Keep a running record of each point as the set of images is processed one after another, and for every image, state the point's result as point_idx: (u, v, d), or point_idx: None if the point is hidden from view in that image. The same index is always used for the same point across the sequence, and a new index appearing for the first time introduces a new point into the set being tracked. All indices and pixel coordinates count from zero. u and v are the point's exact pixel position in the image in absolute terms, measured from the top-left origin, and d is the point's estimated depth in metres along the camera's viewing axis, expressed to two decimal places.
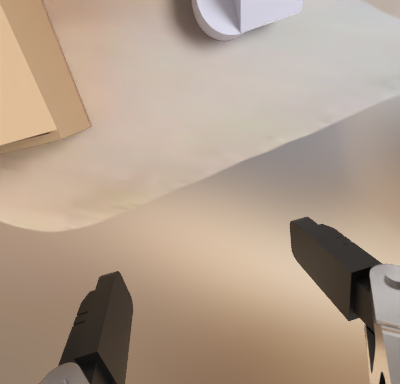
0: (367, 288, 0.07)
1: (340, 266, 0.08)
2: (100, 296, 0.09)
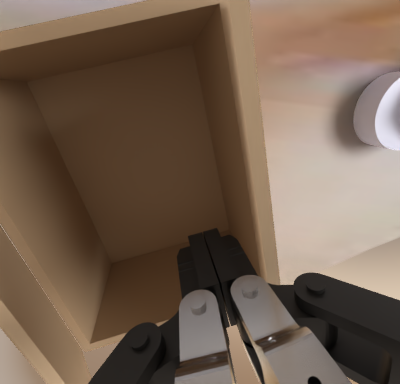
0: None
1: (218, 276, 0.09)
2: (197, 249, 0.10)
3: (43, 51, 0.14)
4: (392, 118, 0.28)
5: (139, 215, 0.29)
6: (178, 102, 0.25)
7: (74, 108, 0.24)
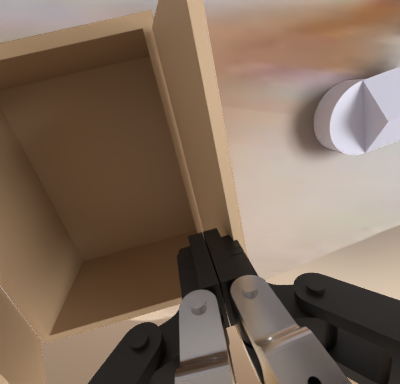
0: None
1: (218, 276, 0.09)
2: (197, 249, 0.10)
3: None
4: (347, 125, 0.29)
5: (107, 215, 0.31)
6: (139, 110, 0.27)
7: (39, 116, 0.26)
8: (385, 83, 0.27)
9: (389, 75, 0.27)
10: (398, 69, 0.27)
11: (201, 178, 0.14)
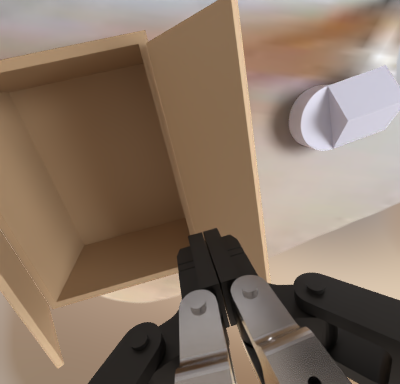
0: None
1: (218, 276, 0.09)
2: (197, 249, 0.10)
3: (14, 75, 0.20)
4: (316, 124, 0.33)
5: (106, 203, 0.35)
6: (135, 109, 0.31)
7: (48, 114, 0.29)
8: (346, 88, 0.31)
9: (350, 81, 0.32)
10: (357, 76, 0.32)
11: (207, 151, 0.18)
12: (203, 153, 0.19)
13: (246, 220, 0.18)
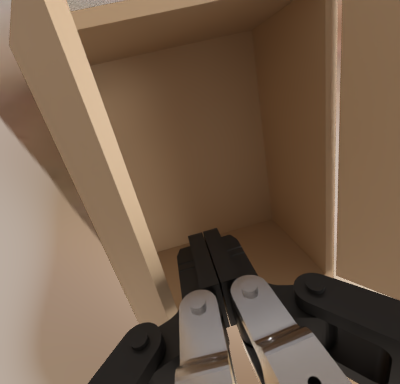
0: None
1: (218, 276, 0.09)
2: (197, 249, 0.10)
3: (142, 26, 0.14)
4: None
5: (187, 203, 0.29)
6: (233, 88, 0.26)
7: (132, 93, 0.24)
8: None
9: None
10: None
11: None
12: None
13: None
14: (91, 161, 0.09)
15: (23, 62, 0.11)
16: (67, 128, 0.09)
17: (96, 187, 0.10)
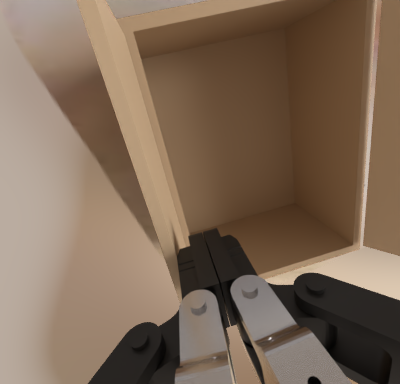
0: None
1: (218, 276, 0.09)
2: (197, 249, 0.10)
3: (212, 22, 0.17)
4: None
5: (219, 187, 0.32)
6: (266, 81, 0.28)
7: (177, 84, 0.27)
8: None
9: None
10: None
11: None
12: None
13: None
14: None
15: None
16: None
17: None
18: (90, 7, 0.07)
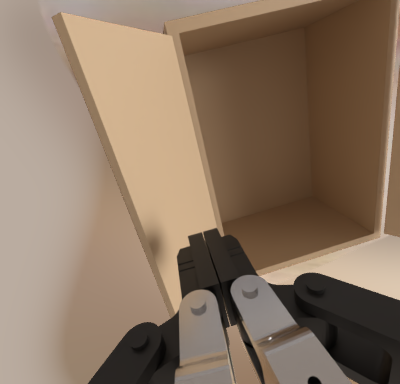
0: None
1: (218, 276, 0.09)
2: (197, 249, 0.10)
3: (246, 23, 0.18)
4: None
5: (240, 180, 0.33)
6: (286, 78, 0.30)
7: (202, 83, 0.28)
8: None
9: None
10: None
11: None
12: None
13: None
14: None
15: None
16: None
17: None
18: (71, 49, 0.09)
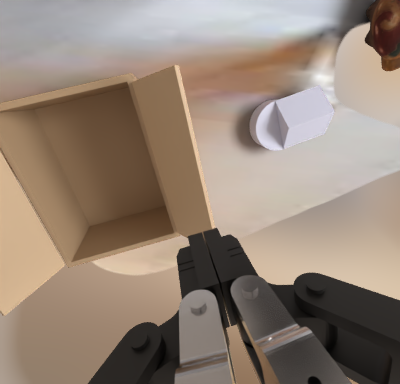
0: None
1: (218, 276, 0.09)
2: (197, 249, 0.10)
3: (44, 102, 0.30)
4: (268, 130, 0.43)
5: (107, 192, 0.45)
6: (128, 120, 0.41)
7: (62, 124, 0.39)
8: (289, 103, 0.41)
9: (292, 98, 0.41)
10: (298, 94, 0.41)
11: (172, 152, 0.28)
12: (170, 153, 0.29)
13: (198, 197, 0.28)
14: None
15: None
16: None
17: None
18: None
